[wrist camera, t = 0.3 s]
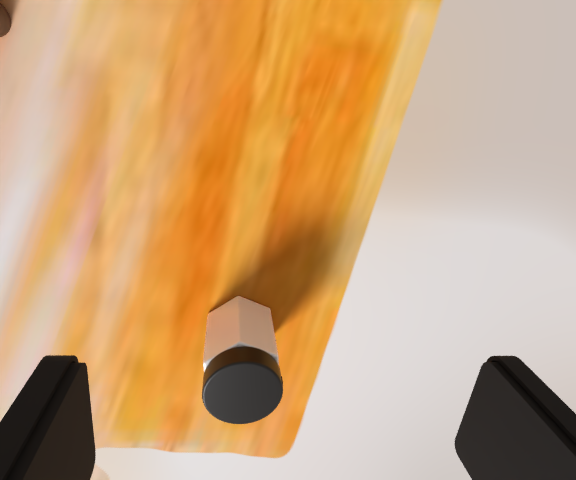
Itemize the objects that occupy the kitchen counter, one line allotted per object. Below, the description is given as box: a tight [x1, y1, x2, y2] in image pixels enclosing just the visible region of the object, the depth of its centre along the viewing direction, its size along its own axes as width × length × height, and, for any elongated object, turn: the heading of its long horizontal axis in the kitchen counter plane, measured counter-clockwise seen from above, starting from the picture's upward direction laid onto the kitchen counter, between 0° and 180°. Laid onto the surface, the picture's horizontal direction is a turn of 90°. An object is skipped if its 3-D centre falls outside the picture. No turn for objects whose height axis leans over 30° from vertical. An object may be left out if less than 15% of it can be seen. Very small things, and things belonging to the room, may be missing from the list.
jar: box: [202, 296, 283, 424], centre depth 45 cm, size 9×8×12 cm
